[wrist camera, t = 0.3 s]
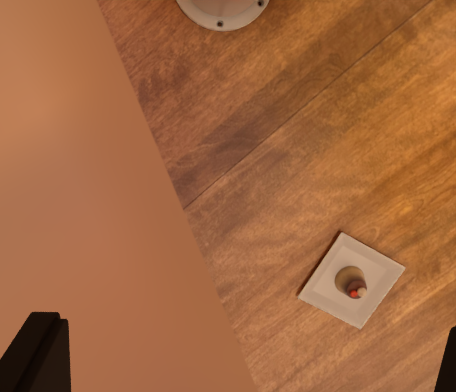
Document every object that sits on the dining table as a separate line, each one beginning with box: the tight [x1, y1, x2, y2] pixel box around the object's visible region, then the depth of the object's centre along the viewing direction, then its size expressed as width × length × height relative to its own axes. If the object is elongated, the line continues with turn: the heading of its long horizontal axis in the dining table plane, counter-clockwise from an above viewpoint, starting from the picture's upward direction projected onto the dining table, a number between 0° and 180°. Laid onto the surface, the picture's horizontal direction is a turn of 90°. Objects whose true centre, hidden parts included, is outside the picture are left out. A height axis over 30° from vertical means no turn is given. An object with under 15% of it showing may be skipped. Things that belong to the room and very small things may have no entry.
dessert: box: [298, 232, 405, 329], centre depth 62 cm, size 12×12×5 cm
